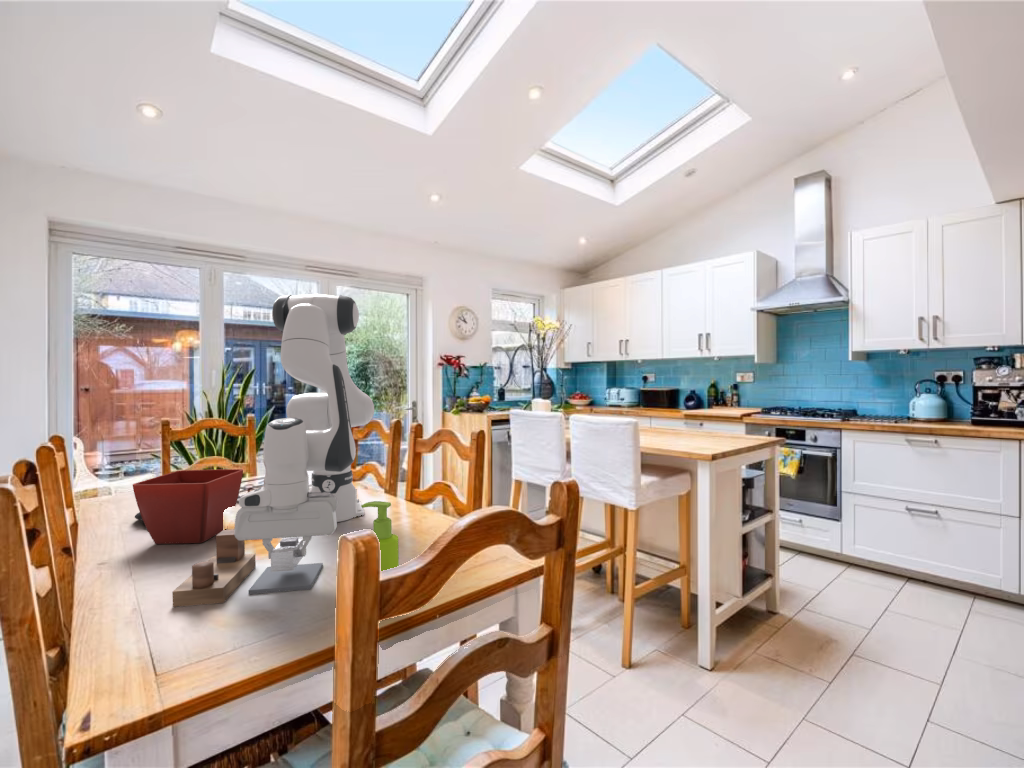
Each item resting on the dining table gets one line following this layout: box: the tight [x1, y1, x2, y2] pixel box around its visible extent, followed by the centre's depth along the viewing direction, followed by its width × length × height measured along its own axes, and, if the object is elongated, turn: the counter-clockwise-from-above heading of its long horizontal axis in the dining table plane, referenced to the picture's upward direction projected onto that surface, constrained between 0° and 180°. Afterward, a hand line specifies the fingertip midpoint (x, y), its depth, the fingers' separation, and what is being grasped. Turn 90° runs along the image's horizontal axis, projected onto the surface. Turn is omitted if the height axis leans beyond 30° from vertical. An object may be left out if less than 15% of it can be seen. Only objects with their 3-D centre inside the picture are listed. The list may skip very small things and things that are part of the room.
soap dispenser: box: [361, 500, 400, 571], centre depth 92 cm, size 6×7×20 cm
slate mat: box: [248, 562, 324, 595], centre depth 104 cm, size 12×12×1 cm
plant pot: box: [132, 468, 244, 545], centre depth 133 cm, size 19×19×17 cm
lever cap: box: [270, 537, 304, 572], centre depth 104 cm, size 8×4×5 cm, turn 10°
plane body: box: [172, 528, 257, 608], centre depth 102 cm, size 18×9×9 cm, turn 10°
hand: (287, 556), depth 104 cm, fingers closed on lever cap, 4 cm apart
